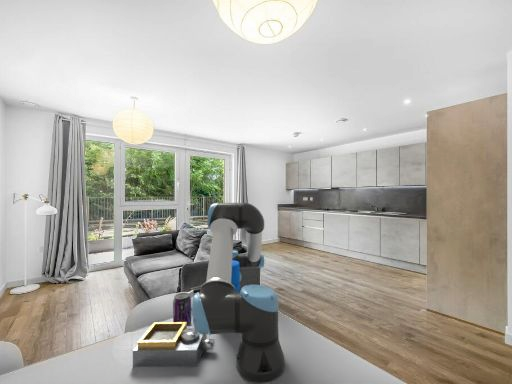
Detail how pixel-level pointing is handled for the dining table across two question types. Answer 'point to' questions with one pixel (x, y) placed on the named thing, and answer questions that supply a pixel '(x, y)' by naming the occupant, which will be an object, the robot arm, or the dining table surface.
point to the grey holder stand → (170, 346)
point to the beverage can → (182, 308)
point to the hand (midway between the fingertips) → (195, 301)
